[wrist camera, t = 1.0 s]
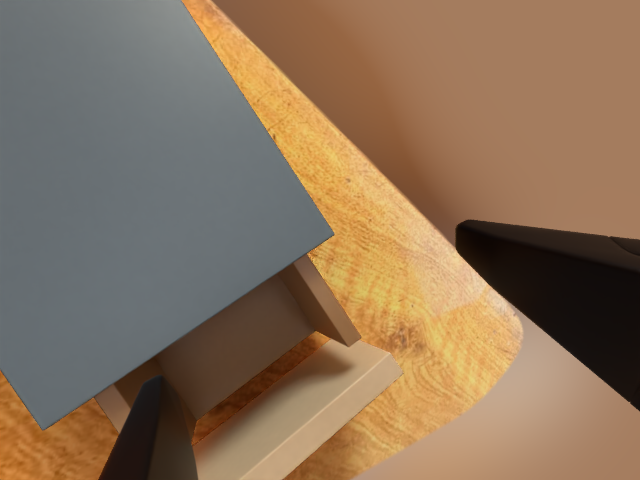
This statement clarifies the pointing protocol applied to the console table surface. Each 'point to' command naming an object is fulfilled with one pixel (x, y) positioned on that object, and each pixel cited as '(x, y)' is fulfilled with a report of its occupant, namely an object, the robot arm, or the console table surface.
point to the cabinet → (126, 193)
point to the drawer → (252, 358)
